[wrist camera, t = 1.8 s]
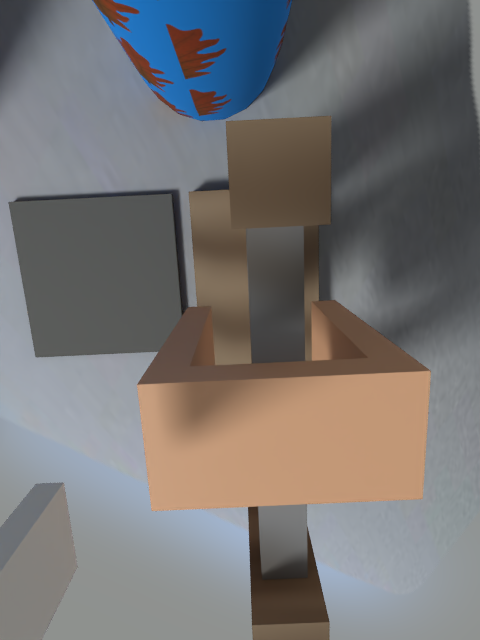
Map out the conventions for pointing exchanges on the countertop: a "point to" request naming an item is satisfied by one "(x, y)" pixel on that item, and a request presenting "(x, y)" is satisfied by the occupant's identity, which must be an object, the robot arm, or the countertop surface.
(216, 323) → the stand
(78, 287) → the mat
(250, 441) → the orange arch block
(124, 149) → the countertop surface
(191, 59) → the thermos
